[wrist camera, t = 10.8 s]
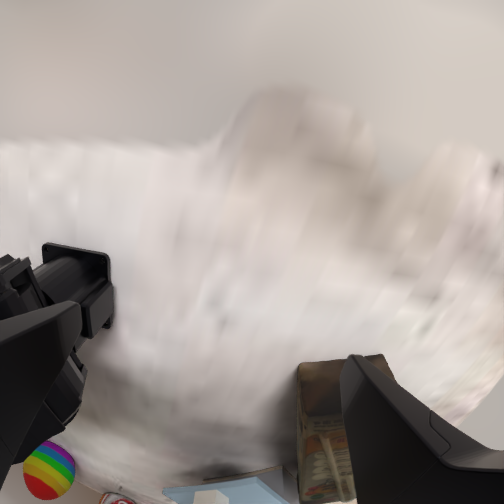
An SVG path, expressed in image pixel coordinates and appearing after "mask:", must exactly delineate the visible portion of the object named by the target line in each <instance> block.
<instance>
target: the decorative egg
mask: <svg viewBox="0 0 504 504" xmlns="http://www.w3.org/2000/svg"><path fill="white" fill-rule="evenodd" d="M23 475H24V480H25V483H26V485H27V488H28V489H29V491H30V492H31V493H32V494H33V495H34V496H35V497H37V498H39V499H42V500H52V499H55V498H58V497H60V496H62V495H63V494H64V493H66V492H67V491H68V490H69V488H70V486H71V485H72V483H73V481H74V478H75V465H74V461H73V459H72V457H71V456H70V455H69V454H68V453H67V452H66V451H65V450H64V449H62V448H61V447H59V446H58V445H56V444H54V443H52V442H49V441H45V442H43V443H42V444H41V445H40V446H39V447H38V448H37V449H35V450H34V452H33V453H32V454H31V455H30V456H29V457H28V458H27V459H26V460H25V461H24V464H23Z"/></svg>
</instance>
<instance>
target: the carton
mask: <svg viewBox="0 0 504 504" xmlns="http://www.w3.org/2000/svg"><path fill="white" fill-rule="evenodd" d="M252 477H258V478H259V479H260V480H261V481H262V482H263V483H265V484H266V485H267V486H268V487H269V488H271V489H272V490H273V491H274V492H276V493H277V494H278V495H279V496H281V497H282V498H283V499H284V500H286V501H287V502H288V503H290V504H300V503H299V494H298V488H297V480H296V479H295V478H294V477H293V476H292V475H291V474H290V473H289V472H288V471H287V470H286V469H285V468H284V467H283V466H282V465H281V466H277V467H273V468H269V469H264V470H260V471H255V472H250V473H245V474H239V475H234V476H228V477H221V478H214V479H207V480H203V484H202V485H206V484H214V483H222V482H228V481H235V480H241V479H246V478H252Z"/></svg>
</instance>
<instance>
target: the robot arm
mask: <svg viewBox="0 0 504 504" xmlns="http://www.w3.org/2000/svg"><path fill="white" fill-rule="evenodd" d="M47 248H48V250H47ZM42 257H43V264H41V265H40V266H38V267H37V268H35V269H34V270H32V268H31V266H30V265H31V262H30V260H29V257H26V258H24V259H22V260H20V258H18V259H14V258H13V257H11V256H10V255H9V254H7V255H5V256H3V257H2V258H0V490H1V488H2V485H3V483H4V480H5V478H6V476H7V474H8V471H9V469H10V467H11V465H13V464H17V463H21V462H24V461H25V460H26V459H27V458H28V457H29V456H30V455H31V454H32V453H33V452H34V450H35V449H37V448H38V447H39V446H40V445H41V444H42V443H43V442H45V441H46V440H48V439H49V438H51V437H52V436H54V435H57V434H59V433H61V432H63V431H64V430H65V428H66V427H65V426H66V425H68V424H69V423H70V422H71V421H72V420H73V418H74V417H75V416H76V414H77V412H78V410H79V407H80V406H81V402H82V399H81V398H82V393H83V388H84V384H85V379H86V375H87V369H86V367H85V366H84V364H82V363H81V362H80V360H79V359H78V357H77V355H76V354H75V353H76V352H77V351H78V349H79V348H80V347H81V345H82V344H83V343H84V341H85V340H86V339H87V338H88V339H92V338H93V337H94V336H95V335H96V333H97V332H98V331H99V329H100V328H105V329H109V328H110V327H111V326H112V323H113V321H112V313H113V311H114V307H113V286H112V283H111V281H110V259H109V256H108V255H107V254H106V253H102V252H97V251H91V250H86V249H80V248H75V247H70V246H64V245H59V244H54V243H49V242H48V243H45V244H44V245H43V246H42ZM101 258H103V259H104V261H105V262H102V260H101ZM106 322H107V323H108V324H107V323H106ZM340 389H341V402H342V415H343V422H344V427H345V432H346V438H347V443H348V449H349V454H350V460H351V466H352V472H353V478H354V484H355V491H356V497H357V504H504V450H503V451H499V450H493V449H489V448H487V447H485V446H484V445H482V444H480V443H479V442H477V441H476V440H474V439H472V438H471V437H469V436H468V435H466V434H465V433H463V432H461V431H460V430H458V429H457V428H455V427H454V426H452V425H451V424H449V423H448V422H447V421H445V420H444V419H443V418H441V417H440V416H439V415H437V414H436V413H435V412H433V411H432V410H430V409H429V408H428V407H427V406H426V405H424V404H423V403H422V402H420V401H419V400H418V399H417V398H415V397H414V396H413V395H411V394H410V393H409V392H408V391H406V390H405V389H404V388H403V387H401V386H400V385H399V384H397V383H396V382H395V381H394V380H392V379H391V378H390V377H388V376H387V375H386V374H385V373H383V372H382V371H381V370H380V369H378V368H377V367H376V366H375V365H373V364H372V363H371V362H369V361H368V360H367V359H366V358H364V357H363V356H362V355H354V354H351V355H349V356H348V358H347V360H346V362H345V364H344V367H343V369H342V371H341V374H340Z"/></svg>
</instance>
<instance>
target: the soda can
mask: <svg viewBox="0 0 504 504" xmlns="http://www.w3.org/2000/svg"><path fill="white" fill-rule="evenodd" d="M99 504H135V503H134V502H133V501H132V500H131V499H129V498H127V497H125V496H122V495H120V494H116V493H108V494H103V495H102V498H101V499H100V502H99Z"/></svg>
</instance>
